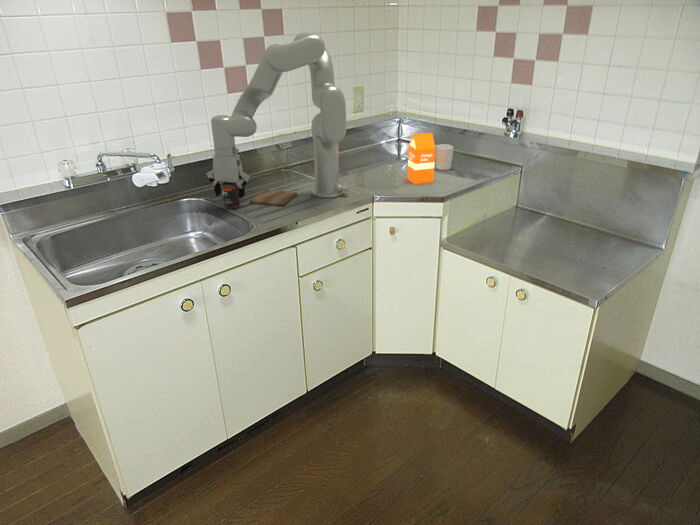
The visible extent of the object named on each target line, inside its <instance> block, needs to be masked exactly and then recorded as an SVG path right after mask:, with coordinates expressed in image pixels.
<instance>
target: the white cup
mask: <svg viewBox="0 0 700 525" xmlns="http://www.w3.org/2000/svg"><path fill="white" fill-rule="evenodd" d="M453 153H454V146H453V145H452V144H446V143H445V144H437V145H435V168H436V170H440V171H448V170H449V171H450V170H451V167H452V163H453V155H454V154H453Z"/></svg>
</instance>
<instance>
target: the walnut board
mask: <svg viewBox="0 0 700 525" xmlns="http://www.w3.org/2000/svg"><path fill="white" fill-rule="evenodd" d="M297 196H298V191H287V190H286V191H285V190H274V189H267V188H266V189H264V190H263V191H261V192H260V193H258V194H257V195H256V196H254V197H253V198H252V199H250V200H249V204H253V205H262V206H273V207H280V208H281V207H282V208H283V207H285V206H286V205H288V204H289V203H290V202H291V201H292V200H293V199H294V198H296V197H297Z"/></svg>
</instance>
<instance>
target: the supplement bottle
mask: <svg viewBox="0 0 700 525" xmlns="http://www.w3.org/2000/svg"><path fill="white" fill-rule="evenodd" d="M238 188H239V186H238V185H237V184H236V183H229V182H222V184H221V195H222V201H223V207H224V208H225V209H228V210H234V209H237V208H239V207H240V206H241V201H240V198H239V193H238Z"/></svg>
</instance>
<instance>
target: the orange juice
mask: <svg viewBox="0 0 700 525" xmlns="http://www.w3.org/2000/svg"><path fill="white" fill-rule="evenodd" d="M407 154H408V156H407V158H408V160H407V178H406V180H409V181H410V182H411V183H413V184H414V185H417V184H419V185H420V184H428V183H433V182H434V177H435V176H434V175H435V166H436V145H435V141H434V136H433V132H425V133H413V134H412V137H411V138H410V142H409V144H408V153H407Z"/></svg>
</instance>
